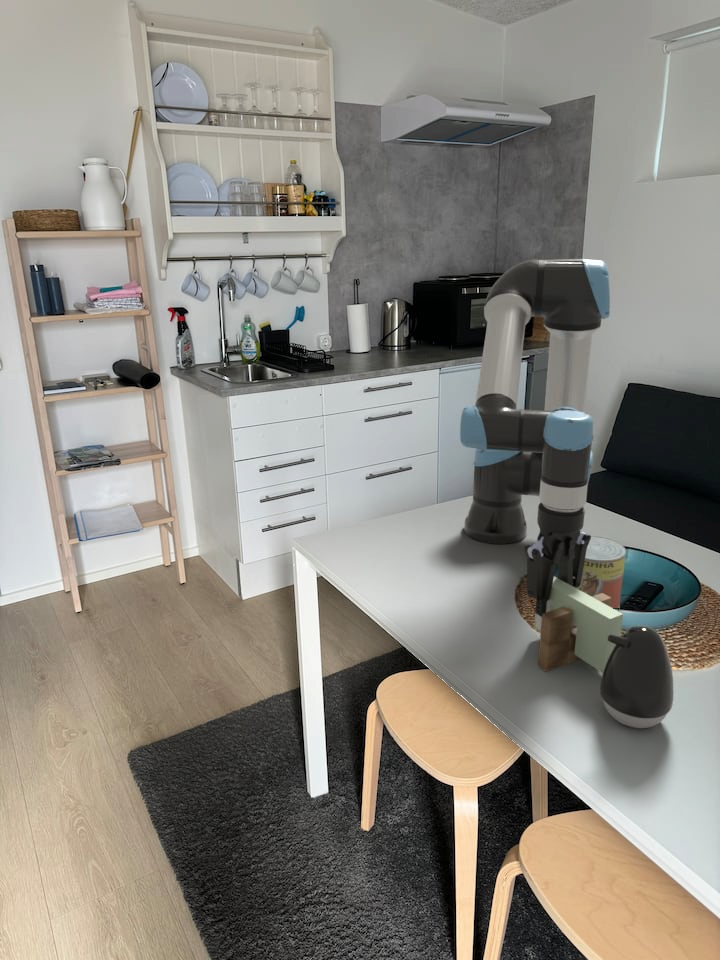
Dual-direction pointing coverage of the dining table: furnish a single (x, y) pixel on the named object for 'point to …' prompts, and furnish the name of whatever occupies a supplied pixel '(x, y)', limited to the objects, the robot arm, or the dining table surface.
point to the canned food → (603, 569)
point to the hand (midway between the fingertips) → (550, 626)
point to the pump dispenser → (638, 678)
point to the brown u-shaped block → (559, 636)
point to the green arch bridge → (588, 622)
